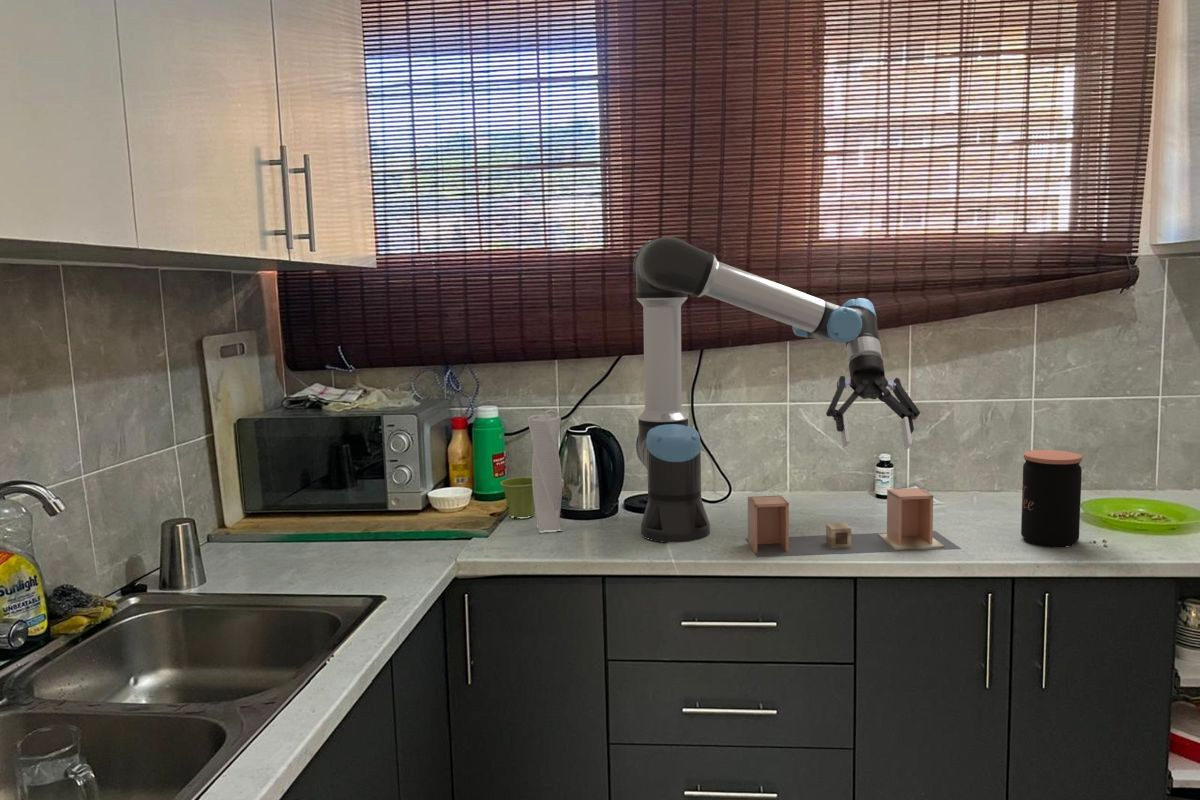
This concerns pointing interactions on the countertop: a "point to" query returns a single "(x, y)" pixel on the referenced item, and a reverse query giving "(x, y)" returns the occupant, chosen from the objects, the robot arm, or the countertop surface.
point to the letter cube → (838, 535)
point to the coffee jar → (1051, 498)
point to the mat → (820, 547)
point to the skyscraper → (546, 470)
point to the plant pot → (519, 496)
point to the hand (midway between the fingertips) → (877, 445)
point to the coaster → (911, 543)
